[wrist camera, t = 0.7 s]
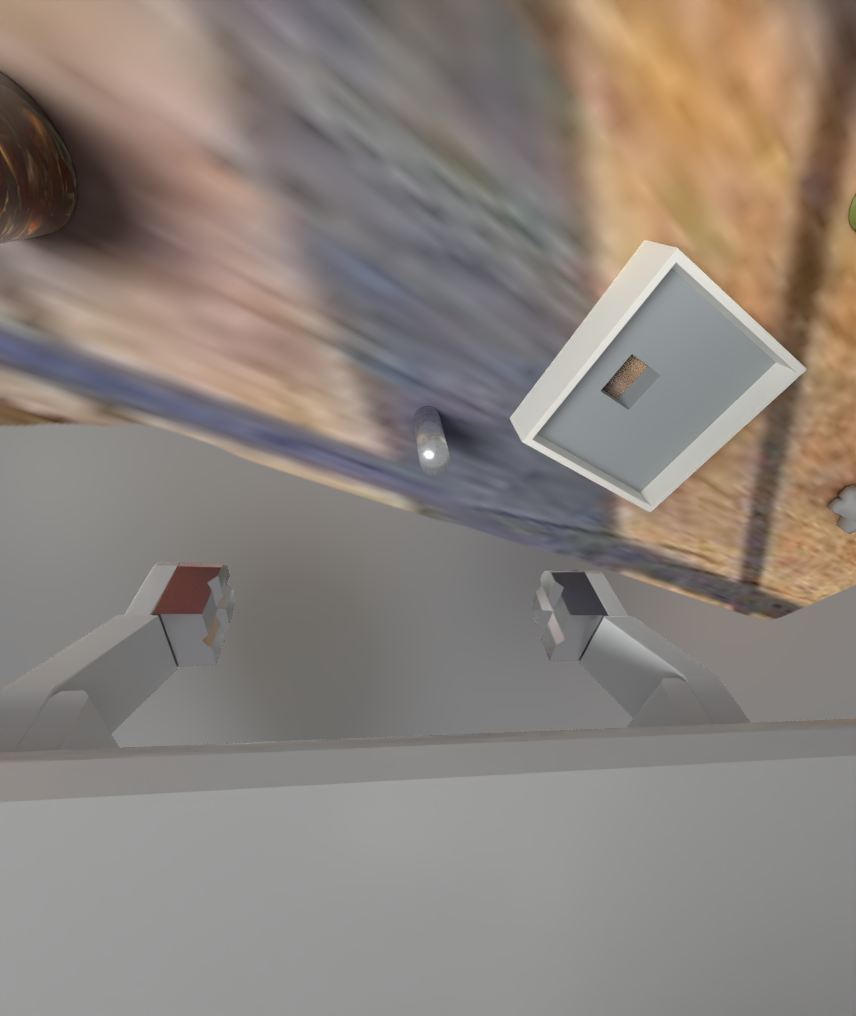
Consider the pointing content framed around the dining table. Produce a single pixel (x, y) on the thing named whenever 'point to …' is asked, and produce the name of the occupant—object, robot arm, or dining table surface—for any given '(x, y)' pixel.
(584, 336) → the box
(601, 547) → the dining table surface
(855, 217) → the plant pot
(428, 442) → the peg
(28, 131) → the jar
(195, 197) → the dining table surface
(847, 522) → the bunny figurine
